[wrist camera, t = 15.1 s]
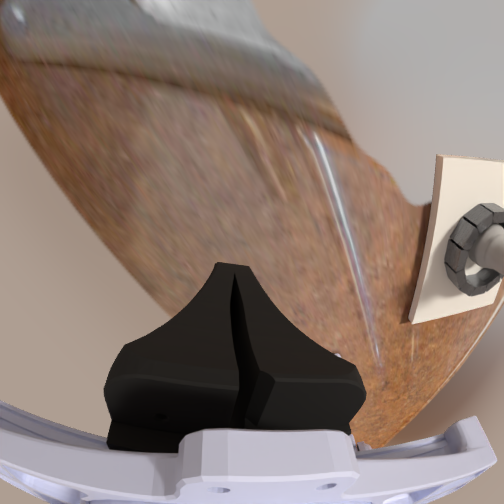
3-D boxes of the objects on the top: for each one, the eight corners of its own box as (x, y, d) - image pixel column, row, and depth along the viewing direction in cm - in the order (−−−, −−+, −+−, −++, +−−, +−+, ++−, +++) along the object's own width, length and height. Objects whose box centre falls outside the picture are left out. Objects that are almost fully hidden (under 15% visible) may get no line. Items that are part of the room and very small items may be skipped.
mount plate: (488, 298, 27) (493, 303, 26) (408, 317, 27) (412, 324, 26) (521, 162, 20) (528, 165, 19) (436, 154, 20) (443, 157, 19)
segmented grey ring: (493, 277, 25) (504, 288, 23) (436, 289, 25) (446, 302, 23) (513, 202, 21) (526, 210, 19) (454, 203, 21) (469, 213, 19)
